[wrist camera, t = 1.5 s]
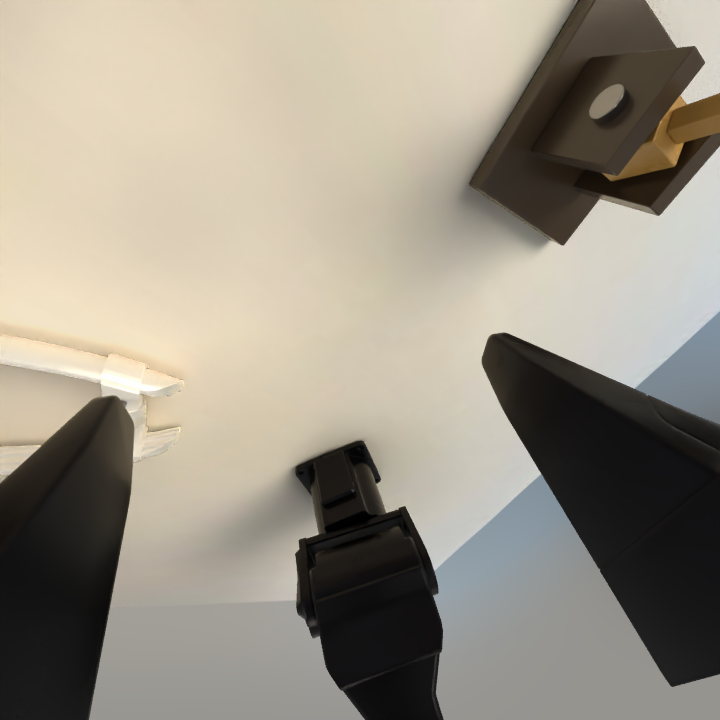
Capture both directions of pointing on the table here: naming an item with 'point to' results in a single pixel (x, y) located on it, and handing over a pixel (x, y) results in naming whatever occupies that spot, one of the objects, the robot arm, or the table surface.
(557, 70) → the bracket
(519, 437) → the robot arm
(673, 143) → the lever
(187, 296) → the table surface
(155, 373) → the door handle
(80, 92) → the table surface
